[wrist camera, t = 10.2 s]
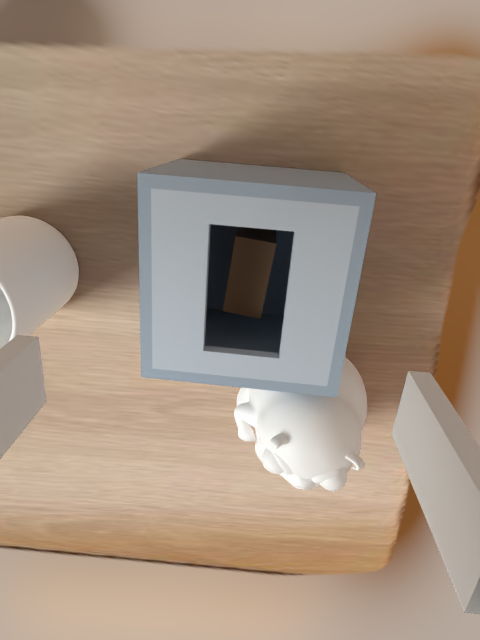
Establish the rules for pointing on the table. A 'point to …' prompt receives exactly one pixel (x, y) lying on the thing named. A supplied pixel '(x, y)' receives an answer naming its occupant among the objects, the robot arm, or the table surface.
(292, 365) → the coin box
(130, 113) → the table surface
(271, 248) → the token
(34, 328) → the cup
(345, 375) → the figurine
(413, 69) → the table surface
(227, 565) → the table surface
